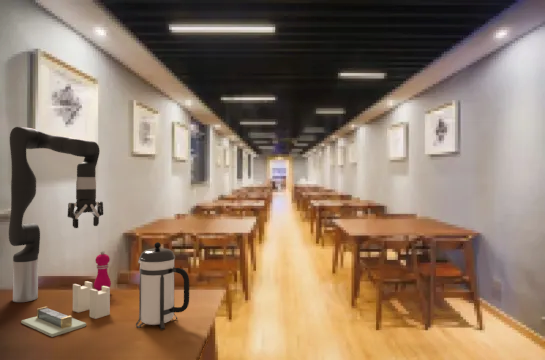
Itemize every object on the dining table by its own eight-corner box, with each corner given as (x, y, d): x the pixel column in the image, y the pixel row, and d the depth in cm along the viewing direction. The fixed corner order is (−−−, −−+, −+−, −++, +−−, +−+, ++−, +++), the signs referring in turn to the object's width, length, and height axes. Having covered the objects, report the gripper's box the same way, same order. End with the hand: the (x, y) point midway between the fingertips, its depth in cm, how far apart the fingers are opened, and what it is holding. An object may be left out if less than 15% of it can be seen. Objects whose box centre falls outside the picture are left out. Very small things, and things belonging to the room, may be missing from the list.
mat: (21, 323, 143) (21, 320, 143) (54, 313, 153) (54, 311, 153) (52, 337, 131) (52, 334, 131) (86, 326, 141) (86, 323, 141)
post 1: (72, 310, 157) (72, 284, 157) (86, 306, 162) (87, 281, 162) (78, 312, 155) (78, 285, 155) (92, 308, 160) (92, 282, 160)
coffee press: (139, 335, 133) (140, 247, 133) (132, 320, 147) (133, 240, 147) (189, 326, 141) (190, 243, 141) (178, 313, 155) (179, 237, 155)
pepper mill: (104, 296, 175) (104, 252, 175) (90, 295, 177) (90, 251, 177) (114, 292, 182) (114, 249, 182) (100, 291, 184) (100, 249, 184)
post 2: (89, 316, 150) (89, 289, 150) (103, 312, 155) (103, 285, 155) (95, 318, 148) (95, 290, 148) (109, 314, 153) (109, 287, 153)
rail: (36, 318, 146) (36, 308, 146) (46, 315, 148) (46, 306, 148) (62, 328, 136) (62, 318, 136) (71, 325, 138) (71, 316, 138)
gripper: (96, 187, 170) (96, 224, 170) (64, 188, 159) (64, 228, 159) (107, 188, 166) (106, 226, 166) (74, 188, 154) (74, 229, 154)
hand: (85, 226), depth 162 cm, fingers open, 8 cm apart
